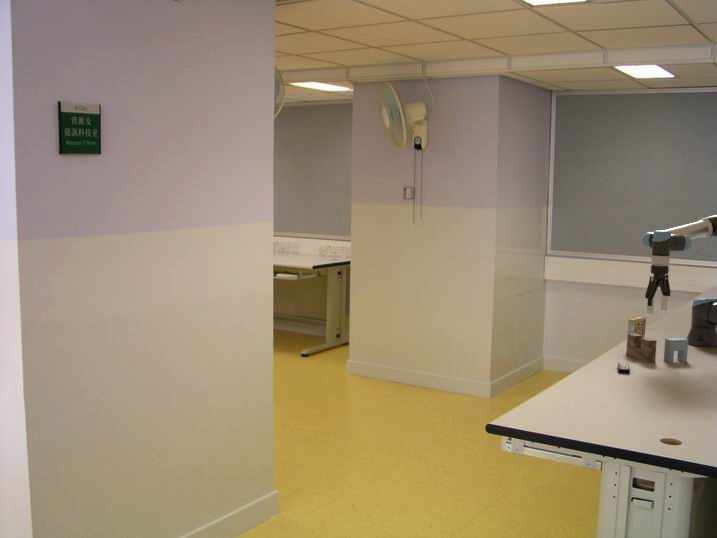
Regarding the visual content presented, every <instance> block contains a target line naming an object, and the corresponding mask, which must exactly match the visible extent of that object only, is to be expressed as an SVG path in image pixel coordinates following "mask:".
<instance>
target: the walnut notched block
mask: <svg viewBox="0 0 717 538" xmlns="http://www.w3.org/2000/svg"><path fill="white" fill-rule="evenodd" d="M627 336H628V337H627V338H626V356H629V357H631V358H634V359H636V360H639V361H641V362H644V363H646V364H652V363H653V364H654V363H656V359H657V357H656V356H657V343H658V342H657V341H658V340H656V339H654V338H650V337H645V338H642V335H639V334H636V333H631V334H628V333H627Z"/></svg>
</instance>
